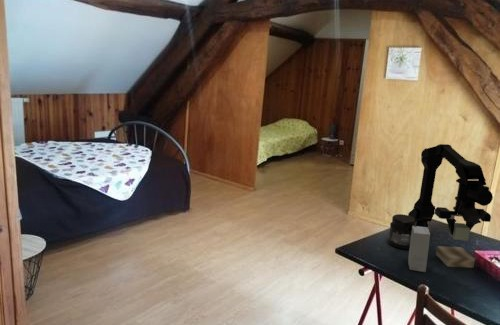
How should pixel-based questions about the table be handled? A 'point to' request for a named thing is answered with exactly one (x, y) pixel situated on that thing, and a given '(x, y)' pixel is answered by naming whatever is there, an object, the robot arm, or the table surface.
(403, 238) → the supplement container
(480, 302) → the table surface
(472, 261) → the birch block
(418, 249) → the skincare box
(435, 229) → the table surface
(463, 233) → the sage cube
